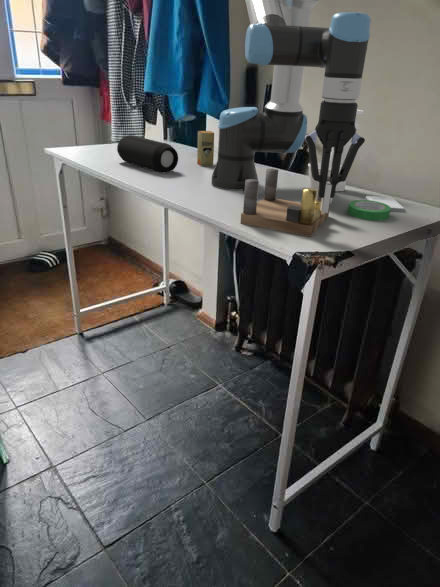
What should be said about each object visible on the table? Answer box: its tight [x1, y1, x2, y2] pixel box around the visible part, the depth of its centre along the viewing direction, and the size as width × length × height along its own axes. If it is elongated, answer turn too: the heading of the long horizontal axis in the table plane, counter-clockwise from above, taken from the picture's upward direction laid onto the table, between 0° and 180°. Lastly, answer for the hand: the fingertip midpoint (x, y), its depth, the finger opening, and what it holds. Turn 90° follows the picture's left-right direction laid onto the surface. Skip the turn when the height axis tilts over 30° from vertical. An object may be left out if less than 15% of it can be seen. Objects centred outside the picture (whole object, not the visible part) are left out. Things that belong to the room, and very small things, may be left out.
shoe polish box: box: [196, 130, 215, 167], centre depth 169 cm, size 5×5×12 cm
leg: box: [299, 187, 321, 224], centre depth 107 cm, size 11×3×8 cm, turn 151°
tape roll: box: [347, 199, 391, 222], centre depth 123 cm, size 11×11×3 cm
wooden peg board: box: [240, 168, 331, 237], centre depth 113 cm, size 18×18×10 cm
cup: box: [307, 161, 342, 206], centre depth 128 cm, size 10×10×11 cm
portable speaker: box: [116, 134, 179, 174], centre depth 161 cm, size 26×10×10 cm, turn 45°
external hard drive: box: [365, 195, 406, 213], centre depth 133 cm, size 2×8×12 cm
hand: (323, 211), depth 103 cm, fingers closed
